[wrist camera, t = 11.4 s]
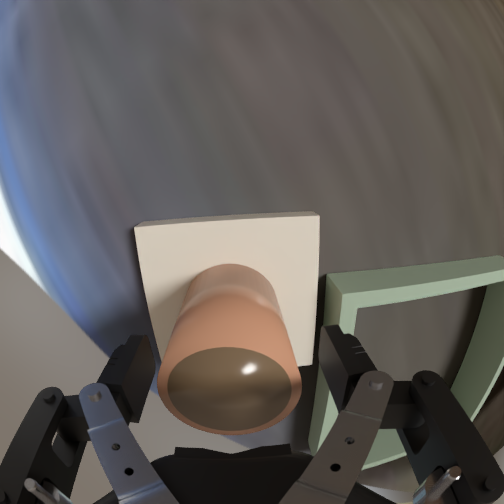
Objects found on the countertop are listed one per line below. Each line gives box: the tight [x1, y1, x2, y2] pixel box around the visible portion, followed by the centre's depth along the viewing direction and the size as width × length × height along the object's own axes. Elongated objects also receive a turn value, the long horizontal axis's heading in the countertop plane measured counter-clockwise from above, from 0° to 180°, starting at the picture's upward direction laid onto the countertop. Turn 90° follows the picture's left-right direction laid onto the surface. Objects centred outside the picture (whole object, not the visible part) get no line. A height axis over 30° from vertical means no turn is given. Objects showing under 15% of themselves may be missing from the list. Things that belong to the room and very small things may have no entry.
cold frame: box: [308, 255, 504, 470], centre depth 18 cm, size 18×18×5 cm
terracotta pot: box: [157, 264, 302, 435], centre depth 13 cm, size 5×5×7 cm
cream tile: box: [134, 211, 319, 366], centre depth 17 cm, size 10×10×2 cm
